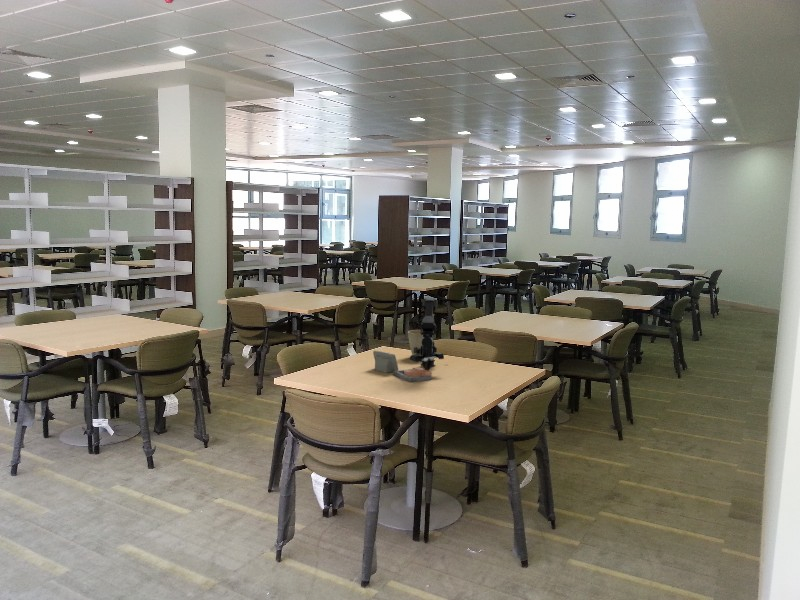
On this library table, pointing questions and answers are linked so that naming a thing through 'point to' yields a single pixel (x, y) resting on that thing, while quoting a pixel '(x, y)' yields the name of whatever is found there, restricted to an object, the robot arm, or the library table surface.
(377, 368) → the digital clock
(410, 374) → the t block
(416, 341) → the plant pot
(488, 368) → the library table surface
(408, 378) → the fence
